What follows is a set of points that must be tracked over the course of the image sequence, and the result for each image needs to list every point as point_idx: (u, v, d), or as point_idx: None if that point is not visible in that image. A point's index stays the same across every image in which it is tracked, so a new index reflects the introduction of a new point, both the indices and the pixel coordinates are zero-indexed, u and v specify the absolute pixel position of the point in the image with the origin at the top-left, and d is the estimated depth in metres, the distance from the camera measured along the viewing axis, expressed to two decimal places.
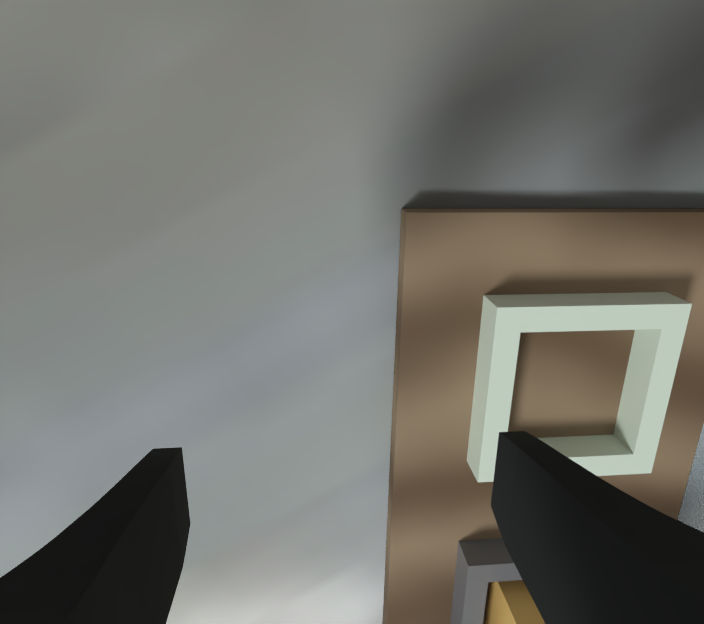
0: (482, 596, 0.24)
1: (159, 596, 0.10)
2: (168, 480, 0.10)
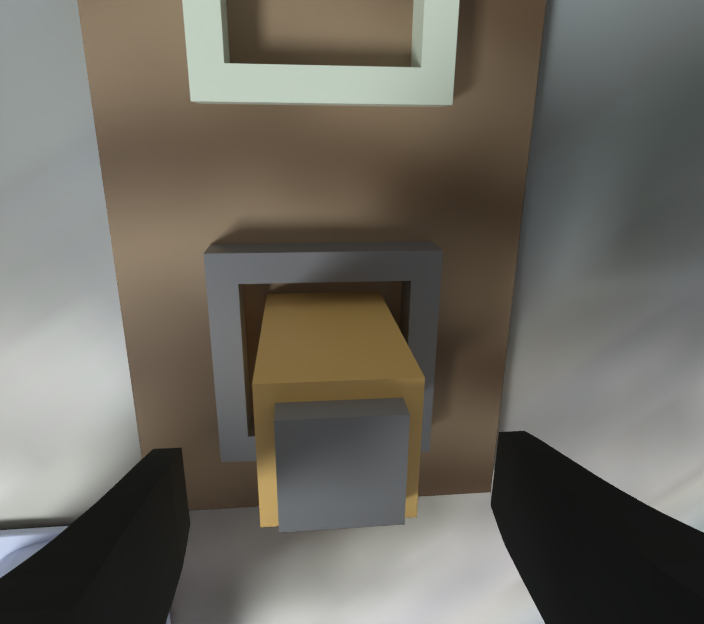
0: (234, 308, 0.17)
1: (159, 596, 0.10)
2: (168, 480, 0.10)
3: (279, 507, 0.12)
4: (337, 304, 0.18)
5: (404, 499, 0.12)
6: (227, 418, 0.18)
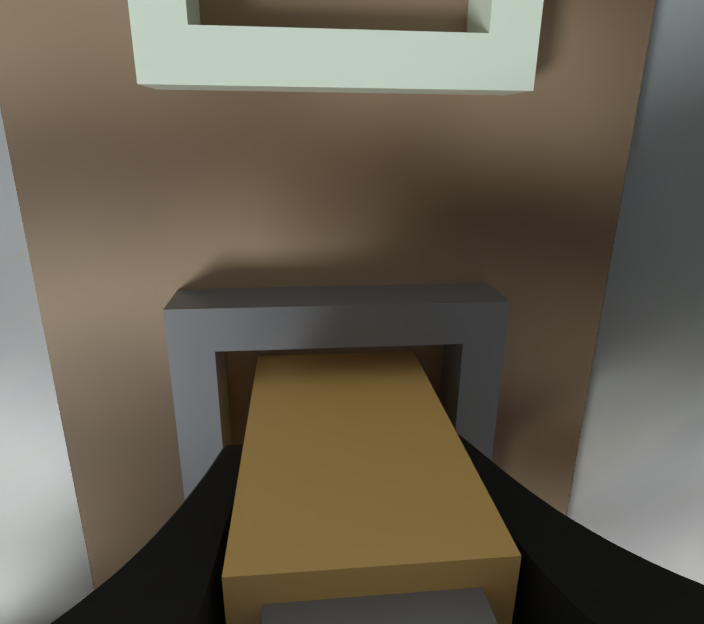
0: (209, 385, 0.12)
1: None
2: None
3: None
4: (357, 376, 0.12)
5: None
6: None
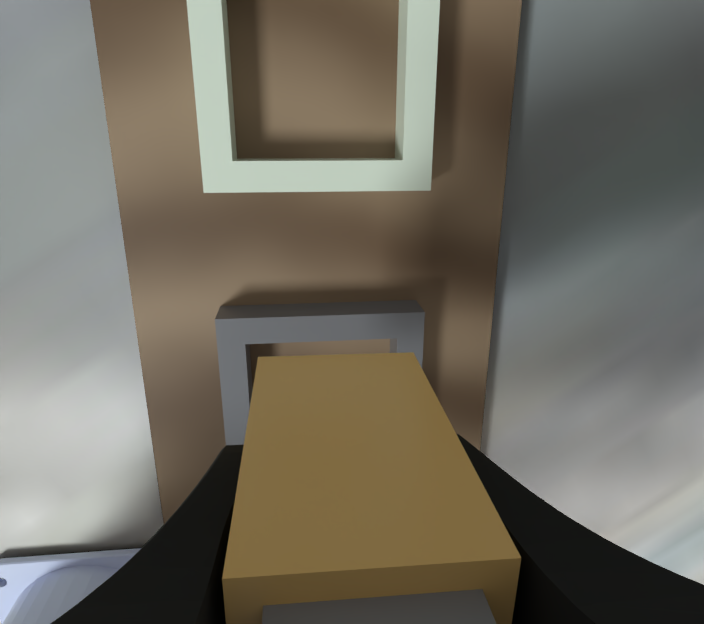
0: (241, 364, 0.19)
1: None
2: None
3: None
4: (357, 377, 0.12)
5: None
6: None
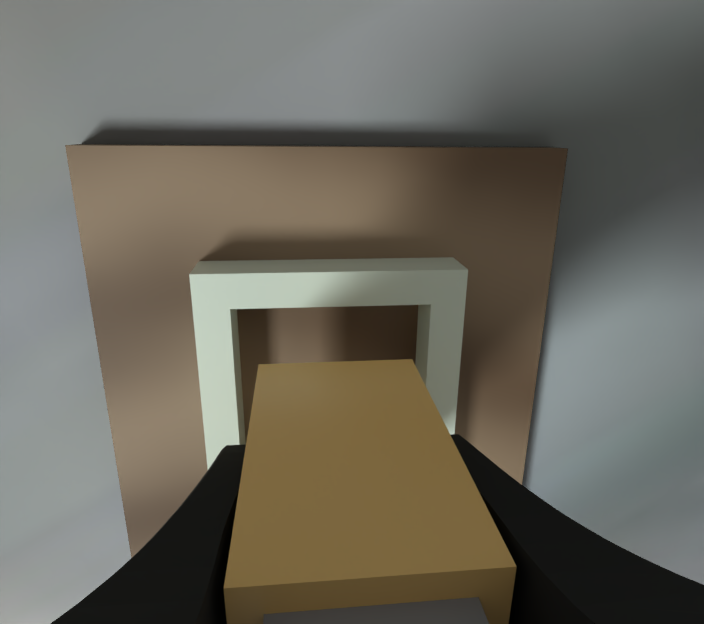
0: None
1: None
2: None
3: None
4: (356, 384, 0.13)
5: None
6: None
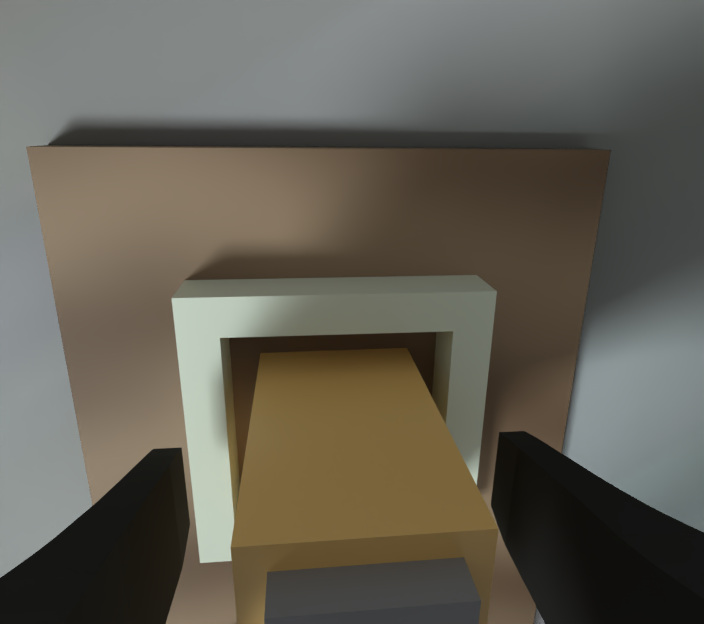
0: None
1: (159, 596, 0.10)
2: (168, 480, 0.10)
3: None
4: (353, 370, 0.13)
5: None
6: None
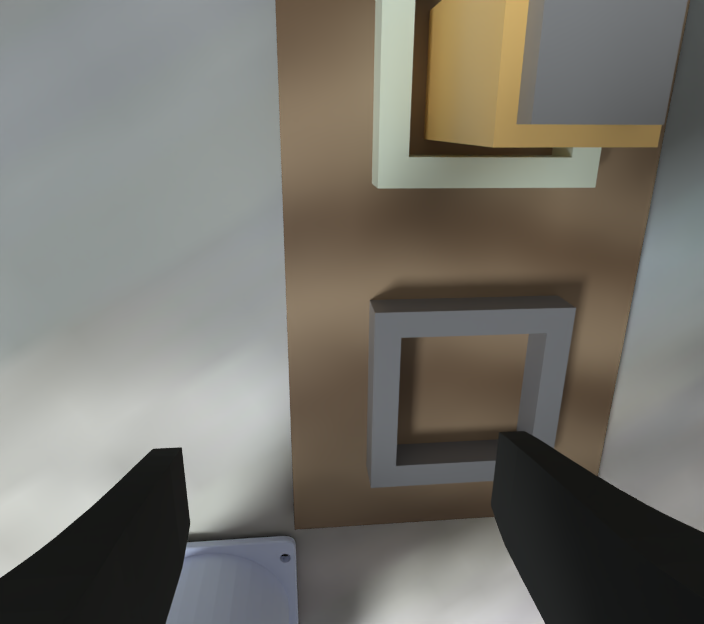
0: (395, 358, 0.20)
1: (159, 596, 0.10)
2: (168, 480, 0.10)
3: (536, 87, 0.11)
4: None
5: (669, 88, 0.11)
6: (380, 451, 0.21)
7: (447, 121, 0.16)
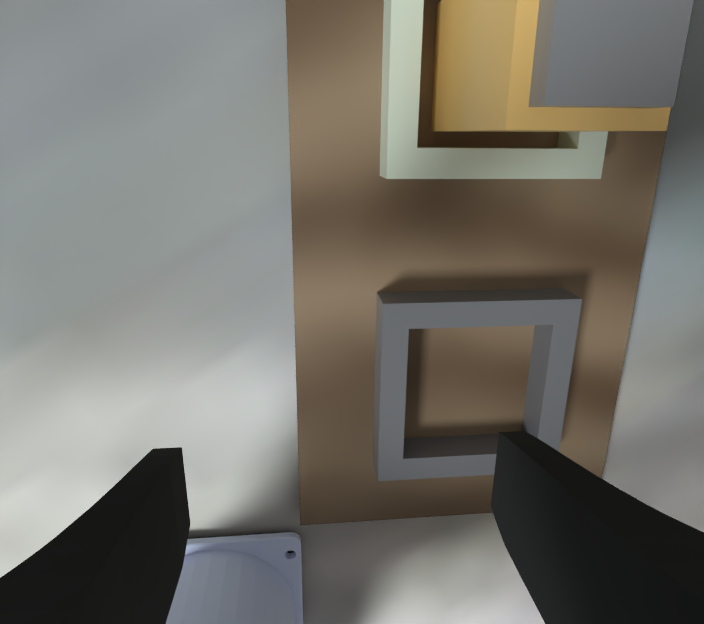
0: (403, 349, 0.20)
1: (159, 596, 0.10)
2: (168, 480, 0.10)
3: (549, 68, 0.11)
4: None
5: (679, 71, 0.11)
6: (387, 443, 0.21)
7: (456, 110, 0.16)
